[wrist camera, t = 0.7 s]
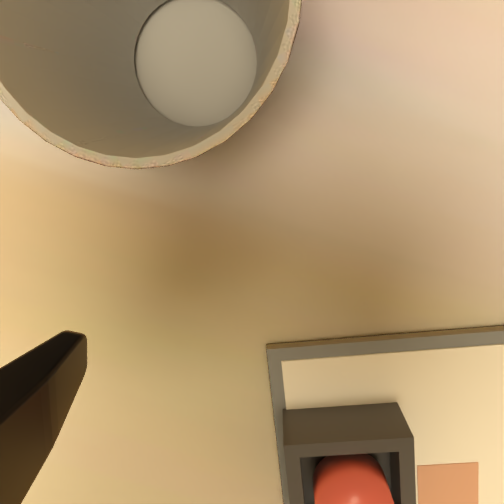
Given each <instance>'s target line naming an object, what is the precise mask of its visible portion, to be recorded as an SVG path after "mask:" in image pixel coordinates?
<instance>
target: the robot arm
mask: <svg viewBox="0 0 504 504" xmlns="http://www.w3.org/2000/svg"><path fill="white" fill-rule="evenodd" d="M86 368H87V338H86V336H85V335H84V334H82V333H77V332H73V331H63V332H61V333H59V334H57V335H56V336H54V337H52V338H51V339H49V340H47V341H45V342H44V343H42V344H40V345H39V346H37V347H35V348H34V349H32V350H30V351H28V352H27V353H25V354H23V355H22V356H20V357H18V358H17V359H15V360H13V361H12V362H10V363H8V364H6V365H5V366H3V367H1V368H0V504H21V503H22V501H23V499H24V497H25V496H26V494H27V492H28V490H29V489H30V487H31V485H32V483H33V482H34V480H35V478H36V476H37V475H38V473H39V471H40V469H41V468H42V466H43V464H44V462H45V461H46V459H47V457H48V455H49V453H50V451H51V450H52V448H53V446H54V443H55V441H56V439H57V437H58V435H59V432H60V430H61V428H62V426H63V423H64V421H65V419H66V416H67V414H68V412H69V409H70V407H71V405H72V403H73V400H74V398H75V396H76V393H77V391H78V389H79V386H80V384H81V382H82V380H83V377H84V375H85V372H86Z"/></svg>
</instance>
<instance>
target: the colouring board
mask: <svg viewBox="0 0 504 504" xmlns="http://www.w3.org/2000/svg"><path fill="white" fill-rule="evenodd" d="M266 350H267V359H268V368H269V377H270V386H271V394H272V403H273V412H274V421H275V430H276V439H277V448H278V457H279V466H280V475H281V484H282V493H283V502H284V504H290V501H289V492H288V483H287V474H286V464H285V455H284V446H283V409H286V410H290V409H304V408H319V407H333V406H348V405H362V404H377V403H391V402H397V403H398V405H399V407H400V409H401V411H402V413H403V415H404V417H405V419H406V422H407V424H408V426H409V428H410V430H411V432H412V434H413V436H414V452H415V482H416V504H504V325H503V326H490V327H478V328H465V329H453V330H440V331H428V332H415V333H403V334H390V335H378V336H365V337H353V338H340V339H328V340H315V341H303V342H290V343H278V344H267V349H266Z"/></svg>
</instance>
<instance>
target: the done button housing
mask: <svg viewBox="0 0 504 504" xmlns="http://www.w3.org/2000/svg"><path fill="white" fill-rule="evenodd" d="M283 446H284V455H285V464H286V474H287V483H288V492H289V501H290V504H315V501H314V492H313V482H312V479H313V473H314V470H315V468H316V466H317V465H318V464H319V462H320V461H321V460H322V459H323V458H325V457H326V456H334V455H351V454H368V455H370V456H372V457H373V458H374V459H375V460H377V462H378V463H379V464H380V465H381V467H382V469H383V471H384V474H385V477H386V480H387V483H388V486H389V489H390V492H391V495H392V498H393V501H394V504H416V482H415V452H414V436H413V434H412V432H411V430H410V428H409V426H408V424H407V422H406V419H405V417H404V415H403V413H402V411H401V409H400V407H399V405H398V403H397V402H391V403H377V404H362V405H348V406H333V407H319V408H304V409H290V410H286V409H283Z"/></svg>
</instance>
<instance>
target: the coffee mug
mask: <svg viewBox="0 0 504 504" xmlns="http://www.w3.org/2000/svg"><path fill="white" fill-rule="evenodd" d="M301 1H302V0H0V99H1V100H2V101H3V102H4V103H5V104H6V106H7V107H8V108H9V109H10V110H11V111H12V112H13V114H14V115H15V116H16V117H17V118H18V119H19V120H20V121H21V122H22V123H24V124H25V125H26V126H27V127H29V128H30V129H31V130H32V131H34V132H35V133H36V134H37V135H39V136H40V137H41V138H42V139H44V140H45V141H46V142H48V143H50V144H52V145H54V146H56V147H58V148H60V149H61V150H63V151H65V152H67V153H69V154H71V155H73V156H75V157H78V158H81V159H84V160H87V161H91V162H94V163H97V164H100V165H104V166H110V167H120V168H130V169H143V168H153V167H163V166H169V165H173V164H176V163H179V162H182V161H185V160H188V159H191V158H195V157H198V156H200V155H201V154H203V153H205V152H207V151H208V150H210V149H212V148H214V147H216V146H217V145H219V144H221V143H223V142H225V141H226V140H227V139H228V138H230V137H231V136H232V135H233V134H234V133H235V132H237V131H238V130H239V129H240V128H241V127H242V126H243V125H245V124H246V123H247V122H248V121H249V120H250V119H251V118H252V117H253V116H254V114H255V113H256V112H257V111H258V109H259V108H260V107H261V105H262V104H263V103H264V102H265V100H266V99H267V98H268V97H269V95H270V94H271V93H272V91H273V89H274V87H275V85H276V83H277V81H278V79H279V77H280V75H281V73H282V71H283V70H284V68H285V66H286V64H287V62H288V59H289V56H290V53H291V49H292V46H293V43H294V39H295V36H296V33H297V29H298V26H299V19H300V10H301Z"/></svg>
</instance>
